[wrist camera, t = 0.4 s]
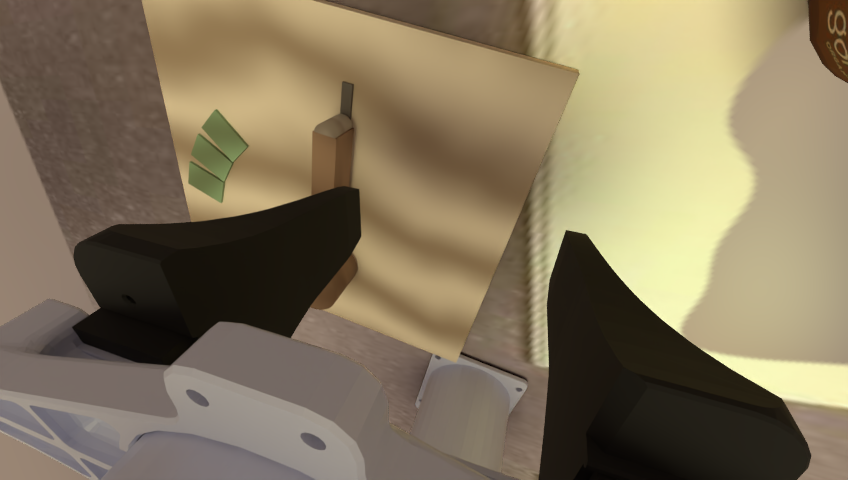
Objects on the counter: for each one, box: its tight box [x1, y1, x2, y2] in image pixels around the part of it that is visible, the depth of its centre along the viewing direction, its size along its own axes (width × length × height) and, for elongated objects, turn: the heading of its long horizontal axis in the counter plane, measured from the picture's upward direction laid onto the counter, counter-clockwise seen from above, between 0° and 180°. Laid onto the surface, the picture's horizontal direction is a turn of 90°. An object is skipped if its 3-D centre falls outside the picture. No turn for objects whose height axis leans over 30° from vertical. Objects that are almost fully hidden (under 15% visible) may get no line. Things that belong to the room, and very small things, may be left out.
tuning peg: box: [310, 114, 357, 310], centre depth 23 cm, size 13×4×3 cm, turn 168°
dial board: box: [142, 0, 579, 363], centre depth 25 cm, size 22×24×1 cm
